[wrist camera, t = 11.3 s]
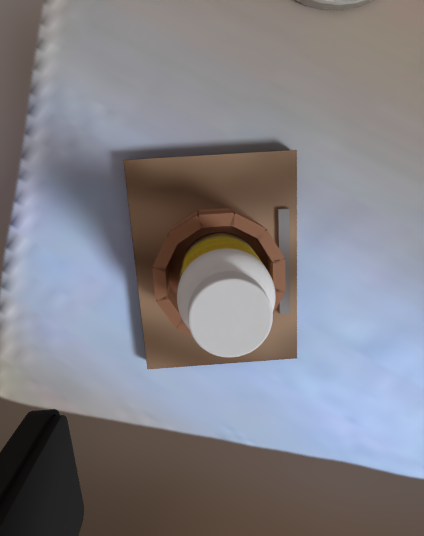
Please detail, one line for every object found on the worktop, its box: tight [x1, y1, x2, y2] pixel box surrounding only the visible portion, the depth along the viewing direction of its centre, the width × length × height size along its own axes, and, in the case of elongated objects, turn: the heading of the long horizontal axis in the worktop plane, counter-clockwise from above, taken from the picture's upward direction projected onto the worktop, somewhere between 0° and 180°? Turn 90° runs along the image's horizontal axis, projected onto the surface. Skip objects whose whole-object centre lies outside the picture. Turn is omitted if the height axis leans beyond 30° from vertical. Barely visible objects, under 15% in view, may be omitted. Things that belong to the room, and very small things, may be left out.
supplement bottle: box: [177, 231, 275, 357], centre depth 21 cm, size 5×5×10 cm
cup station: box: [124, 150, 297, 369], centre depth 26 cm, size 16×12×5 cm
